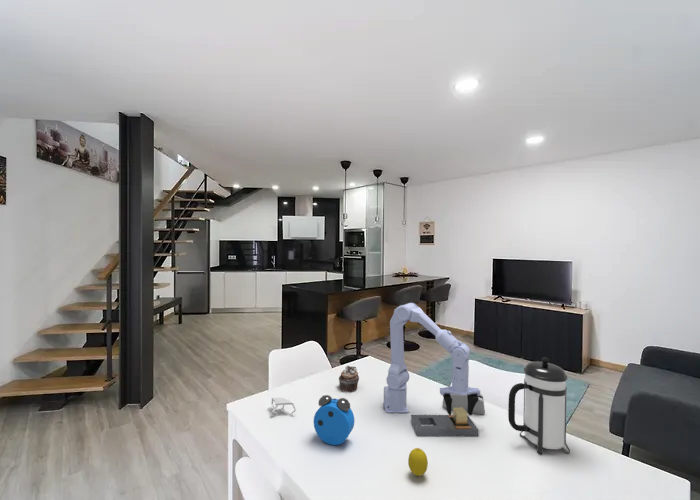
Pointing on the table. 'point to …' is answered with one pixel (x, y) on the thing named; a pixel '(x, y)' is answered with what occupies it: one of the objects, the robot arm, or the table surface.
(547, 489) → the table surface
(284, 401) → the miniature table
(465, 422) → the brass peg
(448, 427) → the rail plate
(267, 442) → the table surface
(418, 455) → the lemon
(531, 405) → the coffee press
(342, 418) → the alarm clock
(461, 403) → the grey rounded block
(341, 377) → the cupcake
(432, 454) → the table surface
